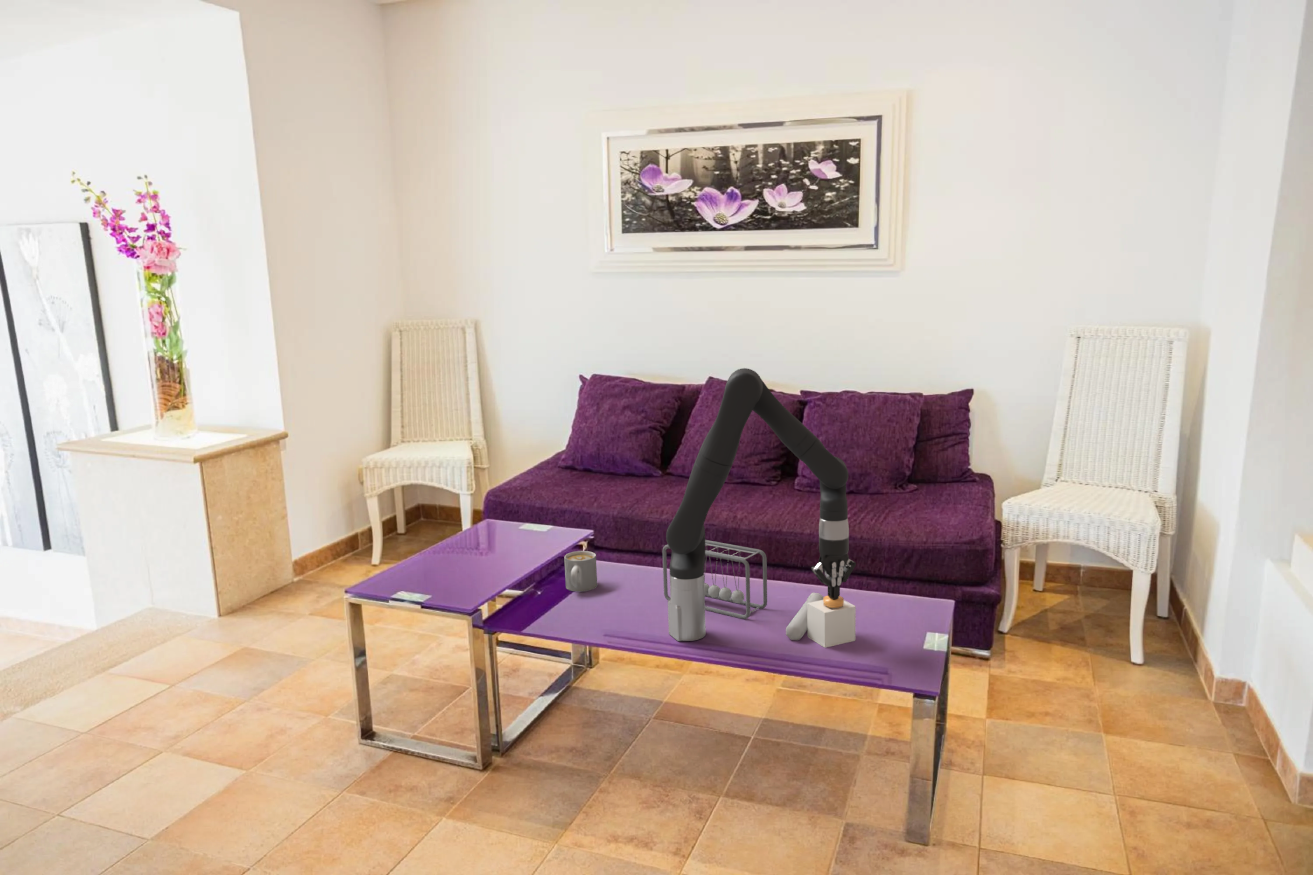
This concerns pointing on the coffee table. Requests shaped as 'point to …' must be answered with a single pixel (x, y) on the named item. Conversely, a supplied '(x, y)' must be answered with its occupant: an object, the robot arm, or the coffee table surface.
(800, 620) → the tube
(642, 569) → the coffee table surface
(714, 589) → the newton's cradle
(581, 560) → the coffee mug
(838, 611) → the housing
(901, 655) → the coffee table surface
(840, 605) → the orange rounded lump
